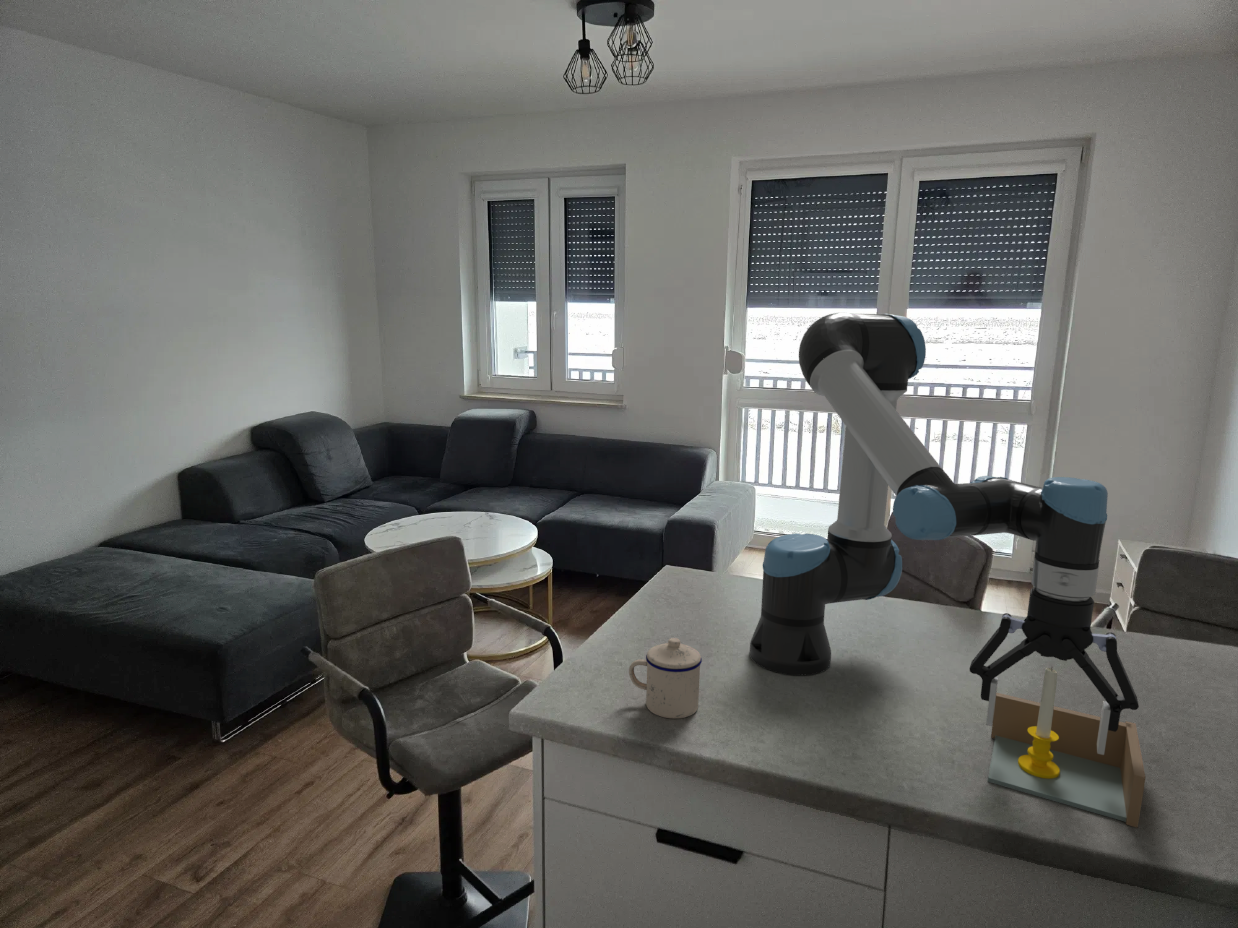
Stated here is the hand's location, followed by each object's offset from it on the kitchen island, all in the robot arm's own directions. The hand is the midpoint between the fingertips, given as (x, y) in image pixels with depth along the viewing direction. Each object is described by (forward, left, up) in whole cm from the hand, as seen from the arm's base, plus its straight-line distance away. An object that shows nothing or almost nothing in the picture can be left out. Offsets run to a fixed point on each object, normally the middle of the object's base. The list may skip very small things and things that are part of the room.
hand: (1043, 735), depth 104 cm
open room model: (+2, 0, -6) cm, 6 cm away
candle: (0, 0, -5) cm, 5 cm away
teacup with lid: (-54, -12, -6) cm, 56 cm away
